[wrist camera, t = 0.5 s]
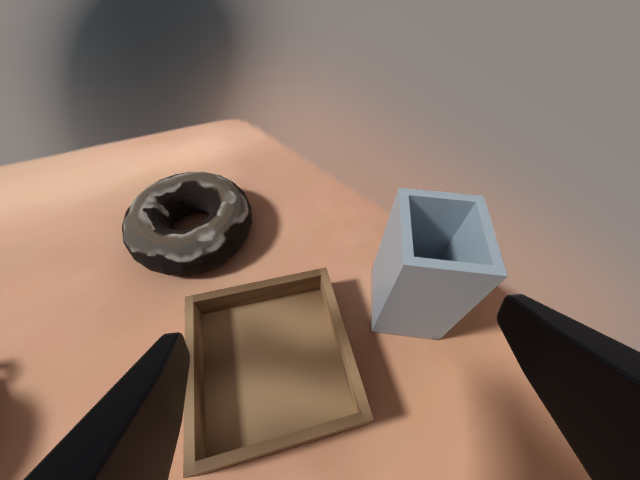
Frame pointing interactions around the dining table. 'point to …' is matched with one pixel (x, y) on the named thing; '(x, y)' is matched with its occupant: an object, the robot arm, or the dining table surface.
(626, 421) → the robot arm
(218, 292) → the shallow brown tray
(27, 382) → the dining table surface
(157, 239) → the donut
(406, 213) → the tall grey bin
